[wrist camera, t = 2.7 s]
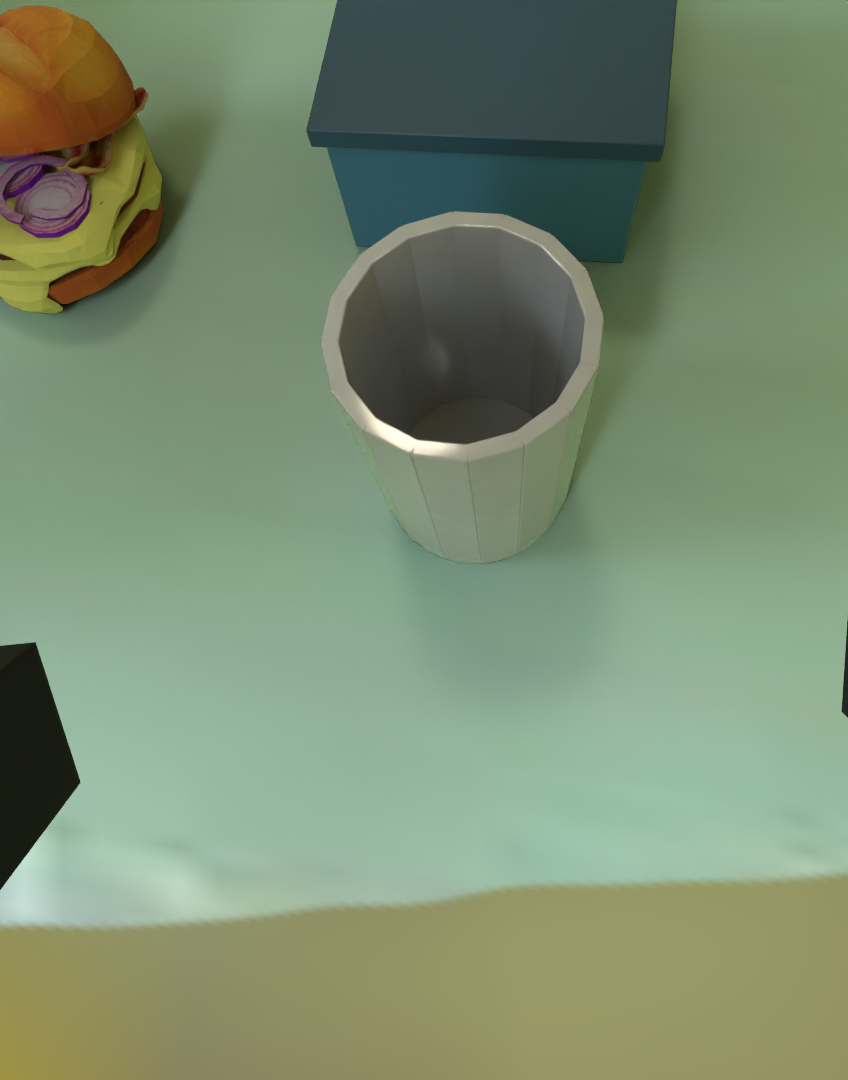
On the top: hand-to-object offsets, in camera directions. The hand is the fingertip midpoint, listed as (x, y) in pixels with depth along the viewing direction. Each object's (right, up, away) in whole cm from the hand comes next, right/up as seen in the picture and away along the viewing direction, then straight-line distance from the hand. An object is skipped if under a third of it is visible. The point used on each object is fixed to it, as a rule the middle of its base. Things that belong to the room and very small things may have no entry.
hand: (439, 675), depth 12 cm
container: (+3, +20, +22) cm, 30 cm away
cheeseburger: (-17, +18, +24) cm, 34 cm away
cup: (+2, +5, +18) cm, 19 cm away
